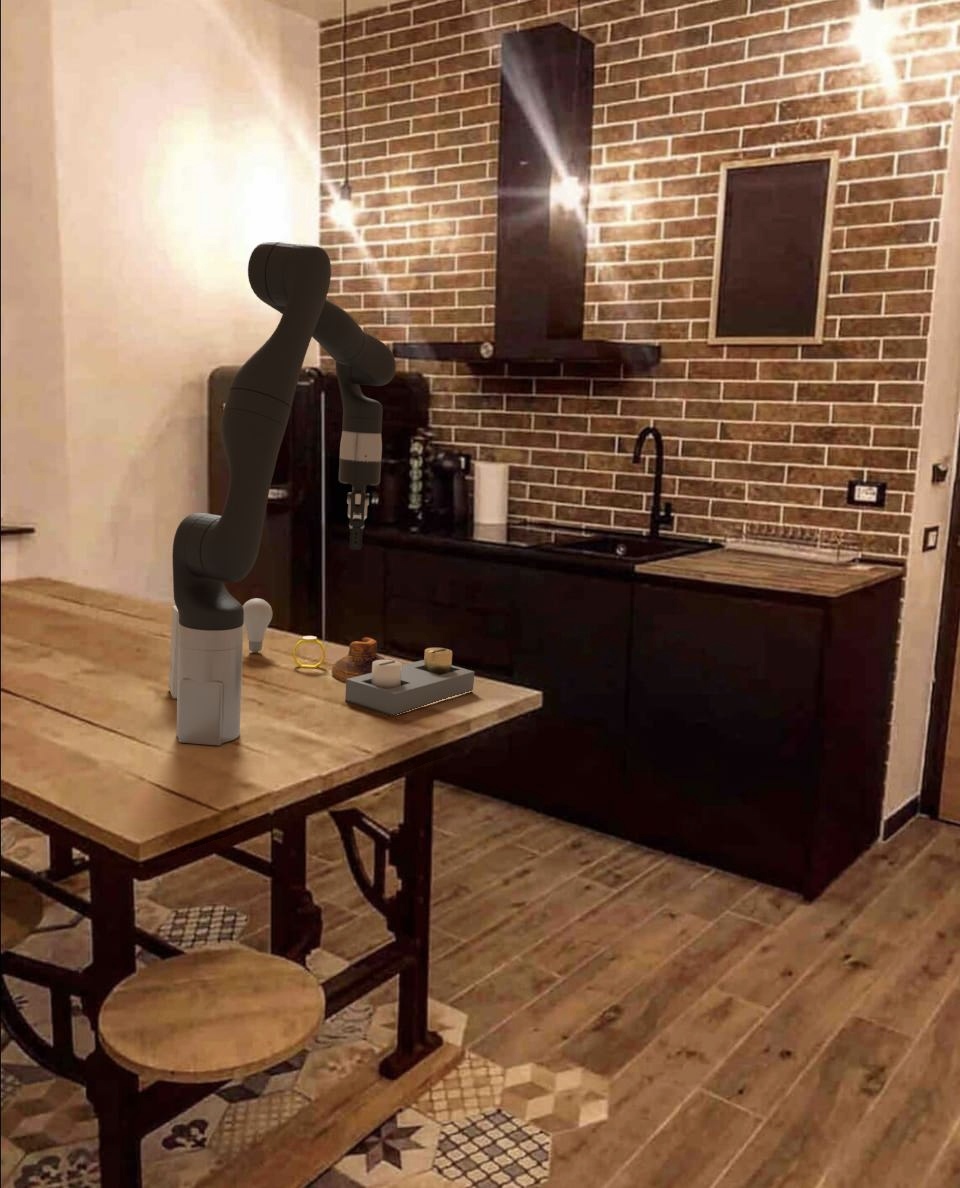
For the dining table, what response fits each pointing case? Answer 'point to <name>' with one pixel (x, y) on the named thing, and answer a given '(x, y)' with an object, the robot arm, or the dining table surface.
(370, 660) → the broken clay vessel
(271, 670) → the dining table surface
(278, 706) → the dining table surface
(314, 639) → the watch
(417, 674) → the knob mount
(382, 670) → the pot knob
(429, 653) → the brass knob
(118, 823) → the dining table surface
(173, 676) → the skincare box
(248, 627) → the lightbulb
